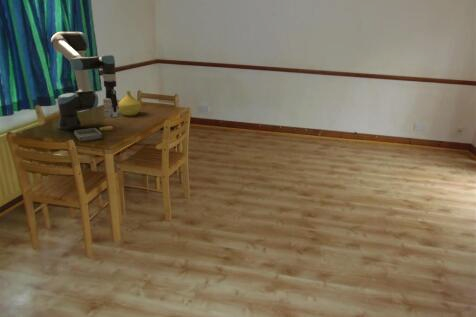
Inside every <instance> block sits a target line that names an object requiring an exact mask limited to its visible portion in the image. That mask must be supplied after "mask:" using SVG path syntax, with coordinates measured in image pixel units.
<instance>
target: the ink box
mask: <svg viewBox="0 0 476 317" xmlns="http://www.w3.org/2000/svg"><path fill="white" fill-rule="evenodd" d="M102 102H103V110H104V117H105V118H106V117H107V118H112V119H117V118H119V117H121V116H120V114H121V112H120V111H119V102H120V101H119V99H118V98H117V104H118V106H117V117H113V114H112V107H111V106H112V102H111V98H106V97H105V98H103V99H102Z"/></svg>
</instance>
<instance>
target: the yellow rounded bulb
mask: <svg viewBox="0 0 476 317" xmlns="http://www.w3.org/2000/svg"><path fill="white" fill-rule="evenodd" d="M125 93H126V95H125V96H123V98H122V99H121V100H120V101H118V102H119V113H120V114H122V115H123V116H126V117H130V116H133V117H134V116H136V115H137V114H138V113H139V112H140V111H141V108H142V103H141V101H139V100H138V99H137V98H135V97H134V96H132V93H131V91H130V90H126V92H125Z"/></svg>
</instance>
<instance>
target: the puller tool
mask: <svg viewBox="0 0 476 317" xmlns="http://www.w3.org/2000/svg"><path fill="white" fill-rule="evenodd" d="M98 128H99V129H98V130H99V132H104V131H111V130H114V129H113V128H114V127H113V126H112V125H109V126H101V127H98Z"/></svg>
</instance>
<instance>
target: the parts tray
mask: <svg viewBox="0 0 476 317" xmlns="http://www.w3.org/2000/svg"><path fill="white" fill-rule="evenodd" d="M73 135H74V137H75V138H76V139H77V140H78V141H79V142H80V143H81V142H85V141H86V142H87V141H95V140H100V139H101V140H102V139H103V133H102V132H101V131H100V130H99V129H97V128H96V127H93V128H85V129H83V128H82V129H74V130H73Z"/></svg>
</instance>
